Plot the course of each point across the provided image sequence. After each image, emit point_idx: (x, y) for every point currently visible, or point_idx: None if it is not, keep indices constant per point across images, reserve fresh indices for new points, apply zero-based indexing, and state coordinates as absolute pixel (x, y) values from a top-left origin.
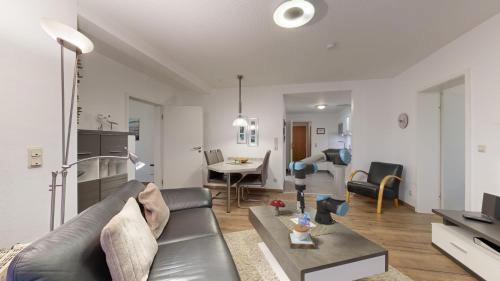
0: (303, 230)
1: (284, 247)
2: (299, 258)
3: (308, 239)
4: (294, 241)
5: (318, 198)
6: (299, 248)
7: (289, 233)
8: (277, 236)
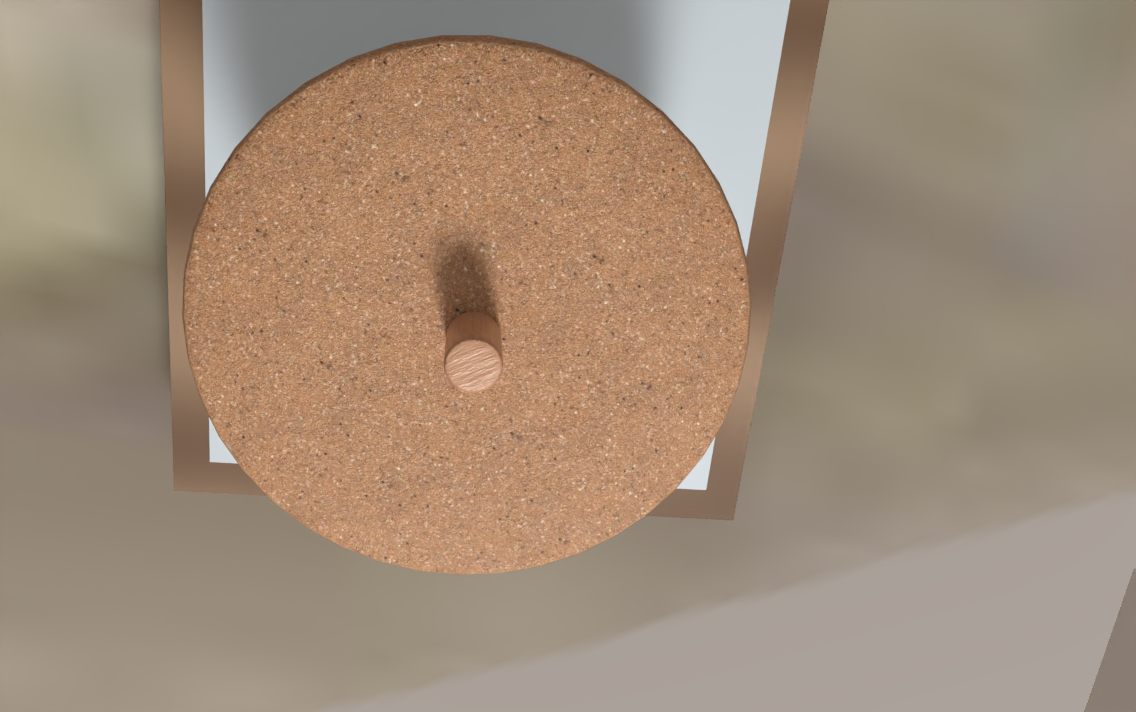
0: (737, 296)
1: (672, 580)
2: (1064, 378)
3: (551, 34)
4: None
5: None
6: None
7: (215, 465)
8: (218, 663)
